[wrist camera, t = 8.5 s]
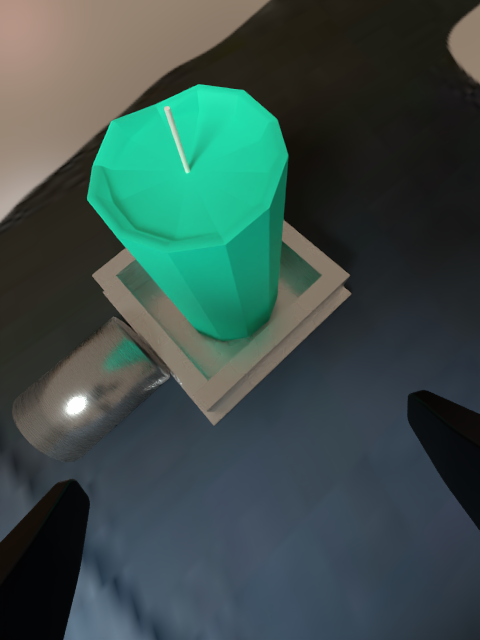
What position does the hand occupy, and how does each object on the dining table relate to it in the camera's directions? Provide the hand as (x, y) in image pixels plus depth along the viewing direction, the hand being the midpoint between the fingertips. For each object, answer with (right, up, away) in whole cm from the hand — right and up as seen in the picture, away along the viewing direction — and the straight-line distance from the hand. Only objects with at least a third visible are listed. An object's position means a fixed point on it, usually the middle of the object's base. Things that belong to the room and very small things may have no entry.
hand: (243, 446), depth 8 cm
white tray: (-3, +3, +11) cm, 12 cm away
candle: (-1, +5, +11) cm, 12 cm away
